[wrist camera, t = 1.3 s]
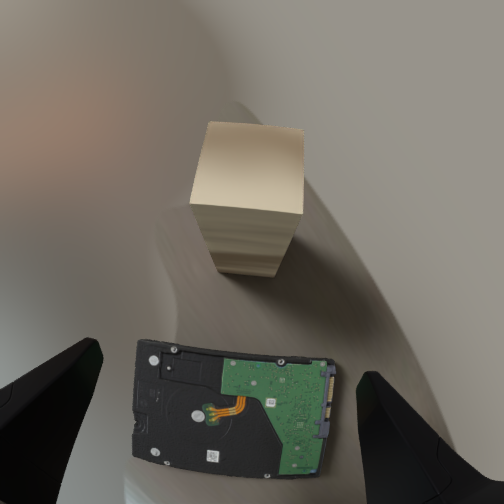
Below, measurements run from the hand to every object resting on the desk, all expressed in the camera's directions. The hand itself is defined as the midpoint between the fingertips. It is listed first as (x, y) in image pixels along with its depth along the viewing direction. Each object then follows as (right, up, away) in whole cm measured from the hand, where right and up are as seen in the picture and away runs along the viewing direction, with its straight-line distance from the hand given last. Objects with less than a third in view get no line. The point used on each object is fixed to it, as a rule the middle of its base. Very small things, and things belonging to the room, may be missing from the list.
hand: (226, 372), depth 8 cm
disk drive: (-1, -9, +12) cm, 15 cm away
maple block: (0, +4, +15) cm, 15 cm away
